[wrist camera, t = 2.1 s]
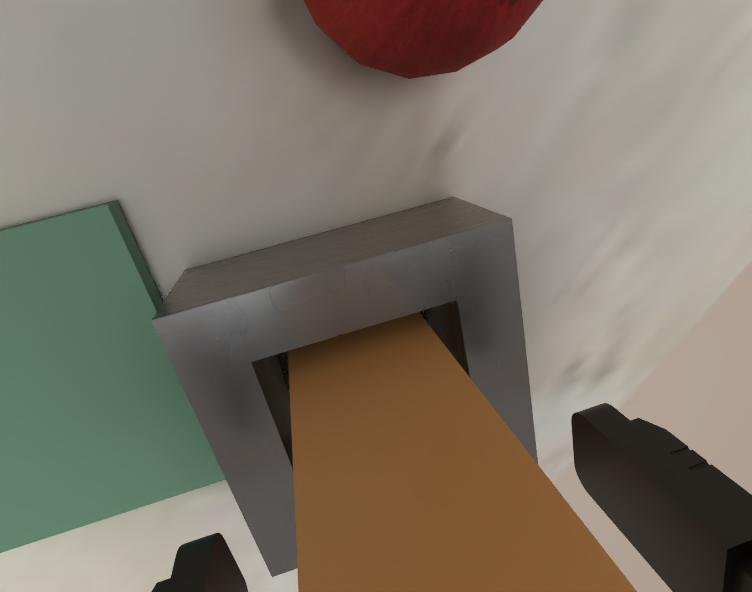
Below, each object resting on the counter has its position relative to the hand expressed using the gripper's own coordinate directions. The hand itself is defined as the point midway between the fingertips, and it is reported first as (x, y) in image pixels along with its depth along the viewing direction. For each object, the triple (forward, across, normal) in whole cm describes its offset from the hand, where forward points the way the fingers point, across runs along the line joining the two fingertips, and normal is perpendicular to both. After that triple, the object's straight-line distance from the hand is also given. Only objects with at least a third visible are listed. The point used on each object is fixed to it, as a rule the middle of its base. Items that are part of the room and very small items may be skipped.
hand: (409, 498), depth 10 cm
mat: (+7, +10, -2) cm, 12 cm away
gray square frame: (+7, 0, 0) cm, 7 cm away
